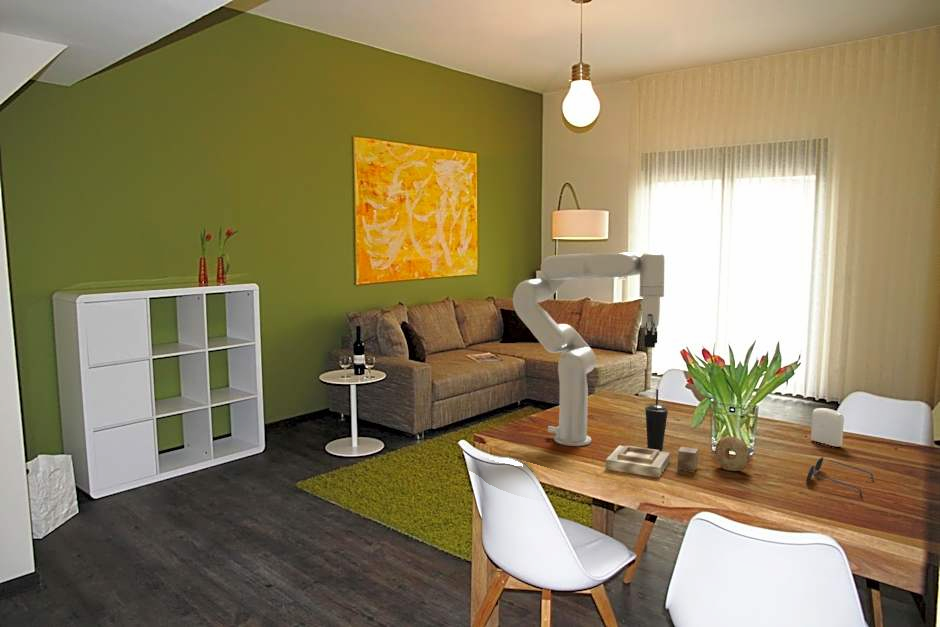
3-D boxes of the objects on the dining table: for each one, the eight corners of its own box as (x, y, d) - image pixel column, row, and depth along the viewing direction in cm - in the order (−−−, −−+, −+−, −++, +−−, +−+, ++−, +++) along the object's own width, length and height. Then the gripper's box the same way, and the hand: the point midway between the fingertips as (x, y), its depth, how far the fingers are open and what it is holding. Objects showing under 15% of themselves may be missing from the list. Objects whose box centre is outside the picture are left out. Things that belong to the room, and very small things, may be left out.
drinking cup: (667, 452, 225) (670, 392, 223) (643, 451, 227) (645, 391, 224) (666, 445, 233) (668, 387, 230) (642, 444, 234) (644, 386, 232)
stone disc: (711, 467, 211) (713, 435, 210) (716, 464, 214) (718, 433, 212) (746, 475, 204) (747, 442, 203) (750, 472, 207) (752, 440, 206)
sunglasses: (818, 470, 210) (821, 455, 209) (872, 488, 201) (876, 472, 200) (803, 486, 197) (807, 469, 196) (860, 505, 188) (864, 488, 187)
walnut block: (677, 470, 209) (678, 450, 208) (680, 465, 213) (681, 446, 212) (694, 472, 206) (695, 453, 206) (697, 467, 211) (698, 448, 210)
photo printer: (808, 441, 239) (810, 406, 237) (816, 439, 241) (818, 405, 239) (836, 449, 230) (838, 413, 228) (844, 447, 232) (846, 411, 231)
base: (605, 469, 209) (606, 455, 208) (619, 454, 223) (619, 441, 222) (659, 477, 202) (659, 463, 201) (669, 461, 216) (670, 448, 215)
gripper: (642, 290, 229) (641, 341, 230) (636, 293, 212) (636, 348, 214) (665, 290, 226) (664, 341, 228) (662, 294, 210) (661, 349, 212)
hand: (650, 345), depth 221 cm, fingers open, 9 cm apart
